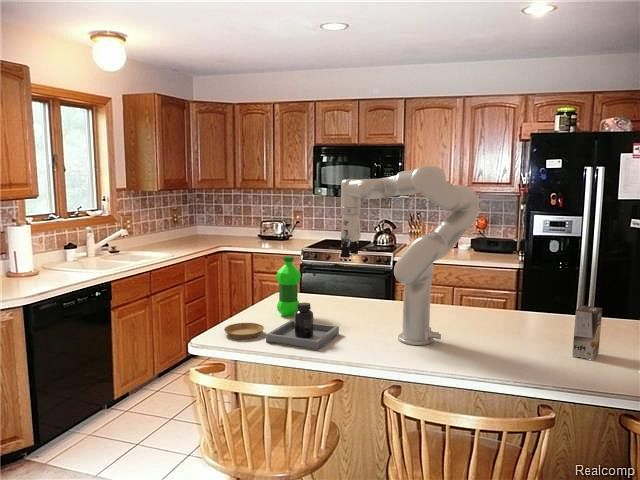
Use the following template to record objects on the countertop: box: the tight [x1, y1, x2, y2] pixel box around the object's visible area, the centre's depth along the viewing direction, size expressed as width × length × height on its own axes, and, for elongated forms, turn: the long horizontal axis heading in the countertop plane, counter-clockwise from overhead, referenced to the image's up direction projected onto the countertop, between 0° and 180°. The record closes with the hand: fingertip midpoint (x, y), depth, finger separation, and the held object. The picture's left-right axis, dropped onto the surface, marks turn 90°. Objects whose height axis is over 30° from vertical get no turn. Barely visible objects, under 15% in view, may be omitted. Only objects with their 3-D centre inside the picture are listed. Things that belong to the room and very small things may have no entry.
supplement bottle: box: [294, 302, 314, 338], centre depth 191 cm, size 7×7×12 cm
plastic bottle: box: [275, 255, 302, 318], centre depth 221 cm, size 10×10×25 cm
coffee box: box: [571, 305, 603, 361], centre depth 176 cm, size 9×6×16 cm
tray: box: [265, 319, 340, 351], centre depth 192 cm, size 20×20×3 cm
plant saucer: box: [223, 322, 265, 340], centre depth 196 cm, size 15×15×3 cm
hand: (349, 255), depth 203 cm, fingers open, 9 cm apart
